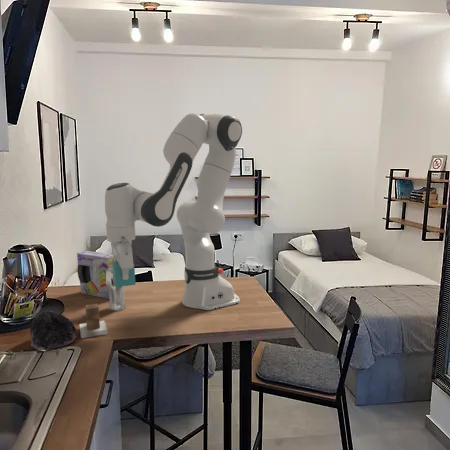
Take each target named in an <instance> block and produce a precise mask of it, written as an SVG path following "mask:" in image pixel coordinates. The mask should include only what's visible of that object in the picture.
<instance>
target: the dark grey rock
mask: <svg viewBox="0 0 450 450" xmlns="http://www.w3.org/2000/svg"><path fill="white" fill-rule="evenodd" d="M29 332H30V333H29V334H30V341H31V344H30V346H31V347H33V349H36V350H37V351H40V350H47V351H50V350H53V349H57V348H61V347H64V346H68V345H71V343H74V340H76V339H77V328H76V327H75V325H74V322H73V321H72V320H70V319H69V318H68V317H67V316H65V315H64V314H61V313H56V312H54V311H53V310H50V311H48V310H44V311H42V312H41V313H40V314H39V315H38V317H37V318H34V319H33V320H32V321H31V322H30V325H29Z"/></svg>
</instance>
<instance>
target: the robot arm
mask: <svg viewBox="0 0 450 450" xmlns="http://www.w3.org/2000/svg"><path fill="white" fill-rule="evenodd" d="M242 134H243V126H242V123H241V121H240V119H238V118H237V117H235V116H233V115H230V114H228V115H225V114H220V113H219V114H218V113H208V114H203V113H200V114H197V113H188V114H186V115H185V116H184V117H183V118H181V120H180V121H179V122H178V124H176V125H175V127H174V129H173V130H171V133H170V135H169V136H168V138H167V139H166V141H165V143H164V145H163V149H162V152H163V157H164V158H165V161H167V163H168V164H169V171H168V172H167V175H166V176H165V178H164V180H163V182H162V184H161V186H160V187H159V189H158V190H157V191H155V192H148V191H144V190H141V189H138V188H137V187H135V186H133V185H132V184H131V183H128V182H120V183H114V184H111V185H110V186H108V187H107V188H106V189H105V194H104V210H105V211H104V213H105V216H106V224H105V227H106V228H105V229H106V241H107V242H109V243H110V246H111V251H112V255H114V257H115V259H116V262H118V264H119V266H120V267H121V269H122V278H123V280H128V279H129V276H128V274H129V269H132V268H133V264H134V258H133V257H134V256H133V255H134V254H133V248H132V244H133V243H132V241H134V240H136V225H135V224H136V221H141V222H144V223H146V224H148V225H151V226H153V227H156V228H158V227H163V226H165V225H168V223H170V222H171V220H172V218H173V217H174V215H175V210H176V207H177V206H176V204H177V201H178V198H179V197H180V194H181V192H182V190H183V188H184V185H185V184H186V182H187V180H188V178H189V175H190V173H191V171H192V168H193V164H194V160H195V158H196V156H197V155H198V153H199V151H200V149H201V148H202V146H203V144H205V145H208V153H207V155H206V157H205V159H204V162H203V165H202V166H201V171H200V173H199V175H198V178H197V181H196V188H197V198H196V201H194V200H192V201H191V200H190V201H186V202H183V203H181V204H180V205H179V206H178V208H177V210H176V219H177V221H178V223H179V226H180V229H181V234H182V238H183V242H184V248H185V249H184V250H185V251H184V253H185V254H184V255H185V267H184V274H183V275H184V282H185V283H184V284H185V286H184V291H183V297H182V301H181V303H182V305H184V307H188V308H192V309H199V310H204V311H212V310H215V308H216V309H219V307H220V308H223V307H227V306H232V305H236V303H237V304H240V302H241V301H240V300H241V299H240V297H239V296H238V295H237V294H236V293H235V291H234V287H233V285H232V284H231V283H230V282H229V281H228V280H227V279H225V278H223V276H222V275H223V274H224V271H225V270H224V269H223V268H221V267H217V266H216V265H215V246H214V243H213V242H212V239H211V236H210V235H215V234H218V233H220V232H221V231H222V230H223V229H224V227H225V223H226V217H225V214H224V211H223V210H224V208H223V206H224V198H225V193H226V190H227V186H228V183H229V181H230V178H231V174H232V172H233V169H234V166H235V163H236V161H235V160H236V156H237V150H236V149H237V148H236V147H237V145H239V142H240V141H241V137H242Z"/></svg>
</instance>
